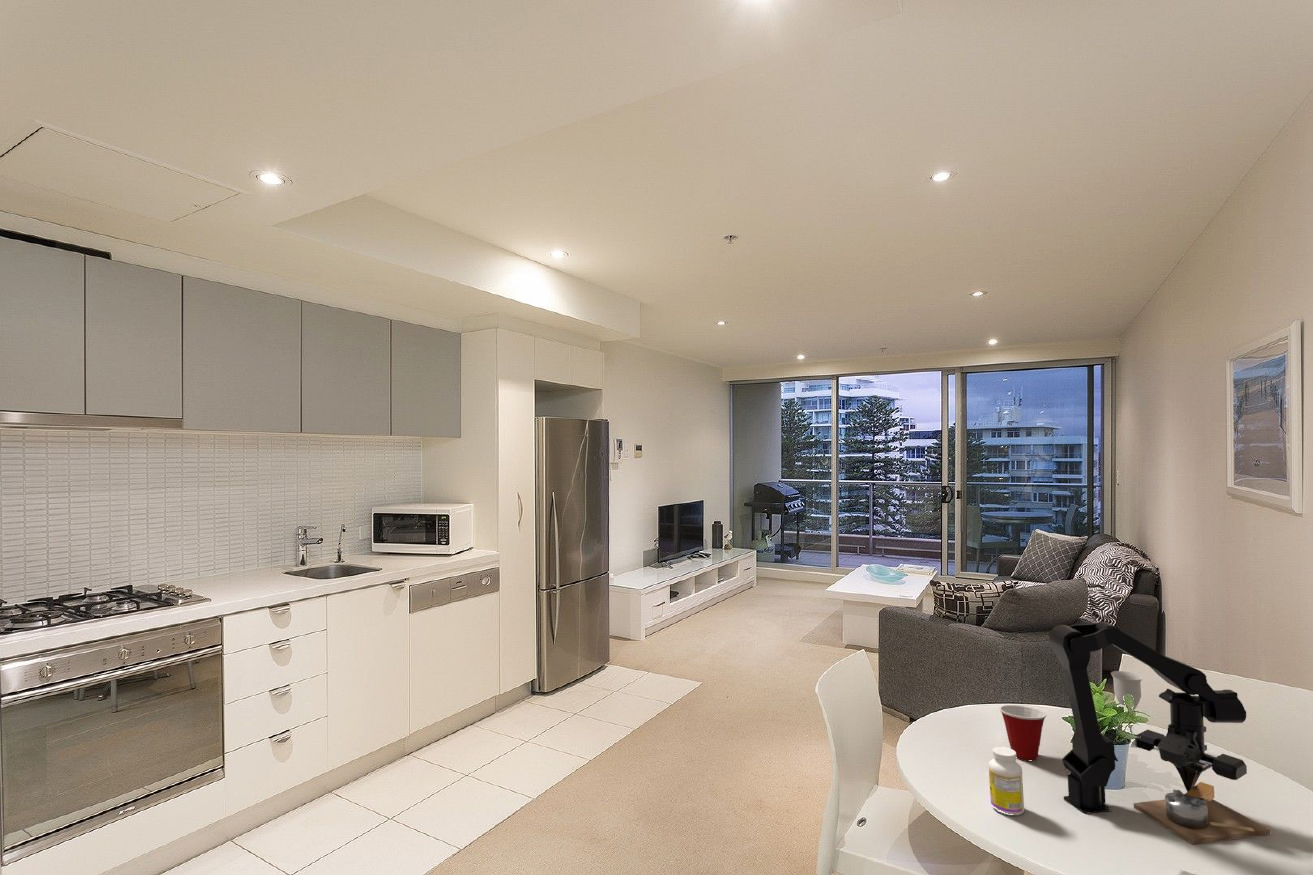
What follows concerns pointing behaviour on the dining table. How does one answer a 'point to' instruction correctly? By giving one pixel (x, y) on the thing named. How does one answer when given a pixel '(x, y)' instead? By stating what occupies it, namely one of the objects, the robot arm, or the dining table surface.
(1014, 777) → the supplement bottle
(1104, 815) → the dining table surface
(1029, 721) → the plastic cup
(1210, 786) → the wood-handled metal tool
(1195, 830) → the base plate
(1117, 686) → the chalice
